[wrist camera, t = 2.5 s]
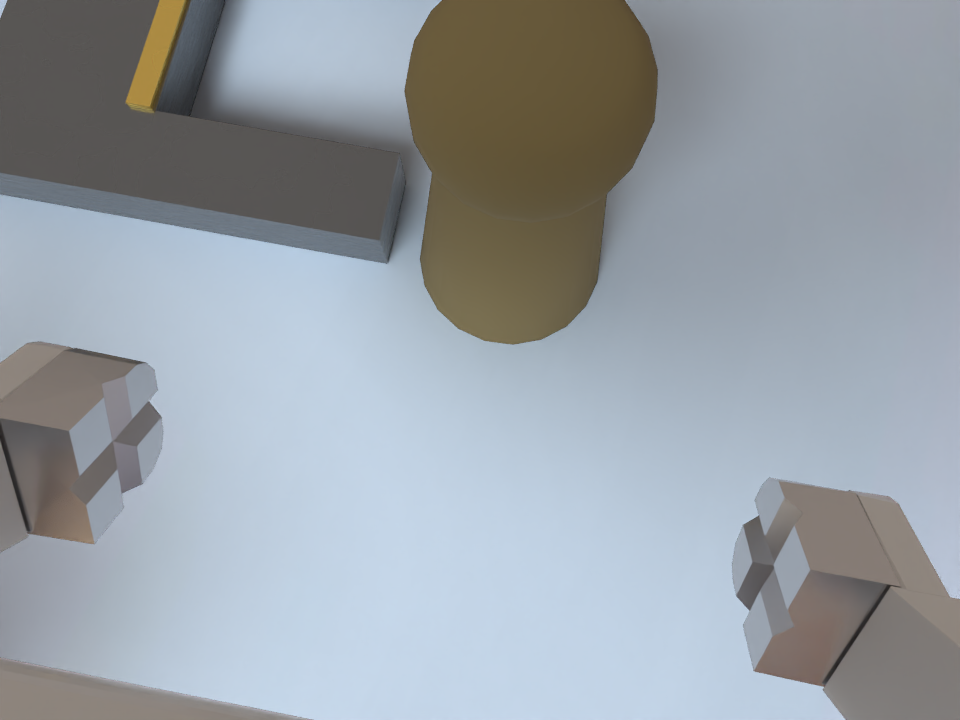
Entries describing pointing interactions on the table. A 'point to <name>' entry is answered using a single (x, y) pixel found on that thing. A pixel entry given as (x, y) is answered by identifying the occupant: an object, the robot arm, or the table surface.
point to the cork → (524, 153)
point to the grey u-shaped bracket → (171, 133)
